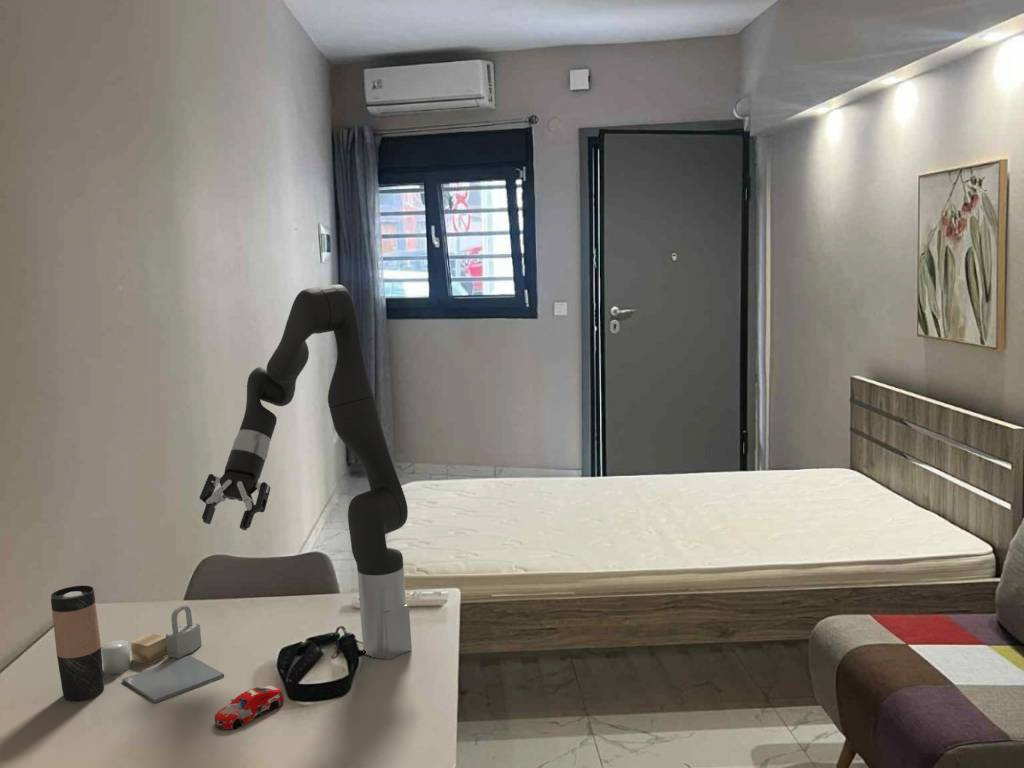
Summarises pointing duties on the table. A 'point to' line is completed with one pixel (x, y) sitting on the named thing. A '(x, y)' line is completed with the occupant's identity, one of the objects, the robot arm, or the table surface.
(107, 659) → the white rounded capsule
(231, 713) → the race car
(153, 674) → the mat
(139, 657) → the oak block
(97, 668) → the travel mug
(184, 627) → the padlock
